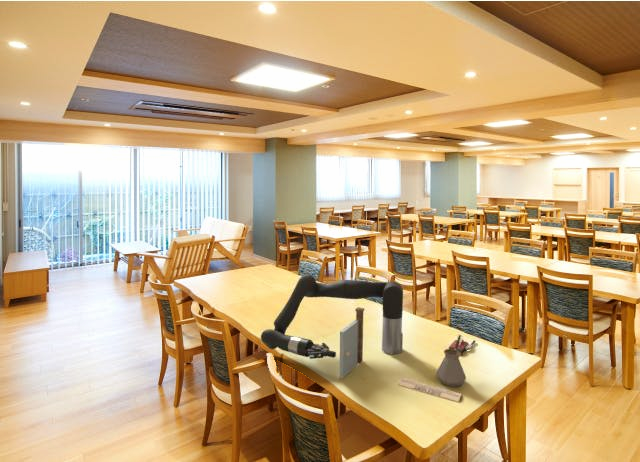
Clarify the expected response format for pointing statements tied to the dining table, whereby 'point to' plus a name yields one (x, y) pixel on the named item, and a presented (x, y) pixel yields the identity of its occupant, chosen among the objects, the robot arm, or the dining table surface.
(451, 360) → the coffee pot
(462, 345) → the dried flower sprig
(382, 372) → the dining table surface
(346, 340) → the door
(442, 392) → the tan flat bar
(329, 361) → the dining table surface
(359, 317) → the hinge post
